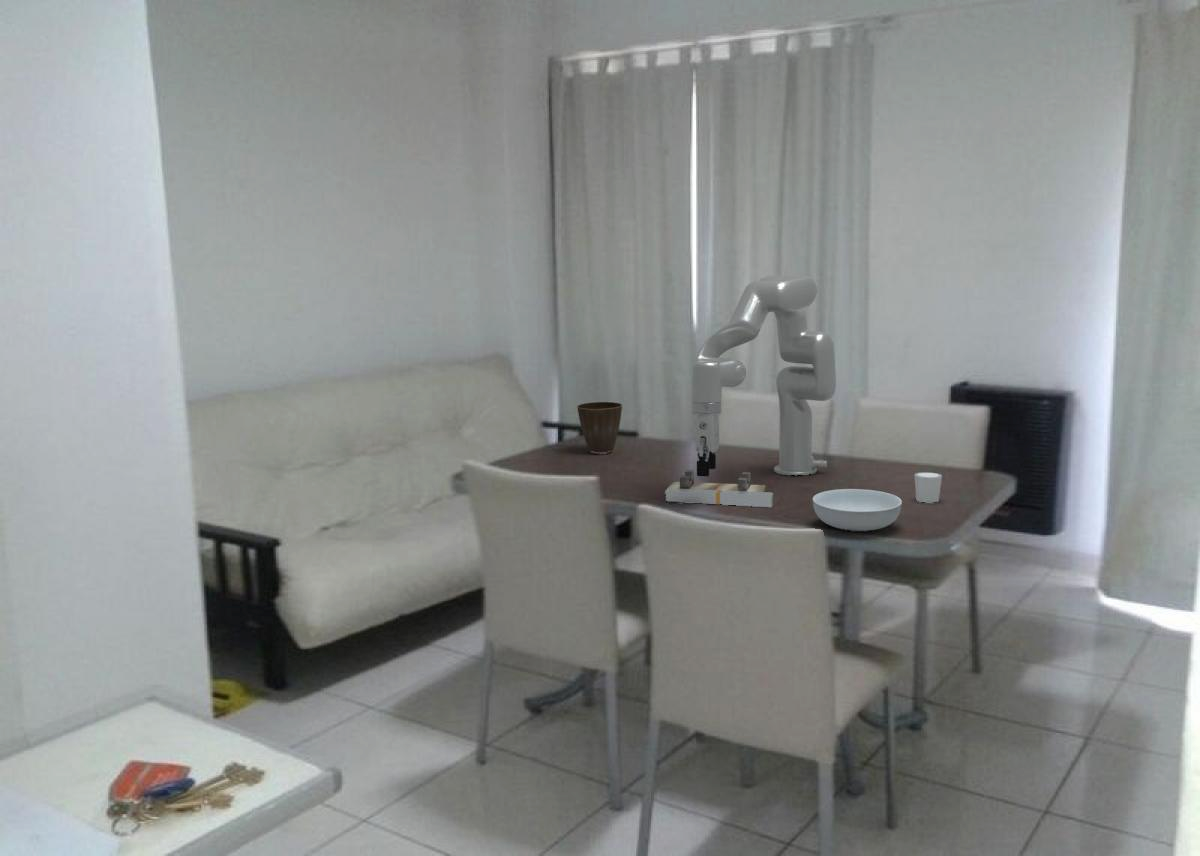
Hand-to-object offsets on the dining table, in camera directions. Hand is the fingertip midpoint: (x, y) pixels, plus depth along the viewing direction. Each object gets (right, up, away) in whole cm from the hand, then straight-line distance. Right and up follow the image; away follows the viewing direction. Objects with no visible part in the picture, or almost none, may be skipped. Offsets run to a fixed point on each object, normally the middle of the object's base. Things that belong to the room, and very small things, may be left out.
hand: (706, 472), depth 272 cm
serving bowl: (+34, -12, -24) cm, 43 cm away
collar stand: (+4, -6, +13) cm, 15 cm away
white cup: (+58, -8, -1) cm, 58 cm away
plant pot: (-28, +3, +73) cm, 78 cm away
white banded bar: (+3, -8, +1) cm, 9 cm away
